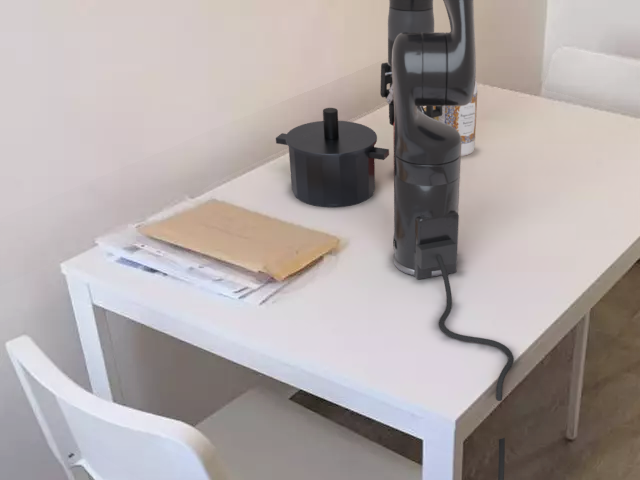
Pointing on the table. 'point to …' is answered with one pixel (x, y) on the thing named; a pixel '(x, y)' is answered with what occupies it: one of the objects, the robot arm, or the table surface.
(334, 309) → the table surface
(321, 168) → the pot
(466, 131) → the bath foam
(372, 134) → the pot lid
